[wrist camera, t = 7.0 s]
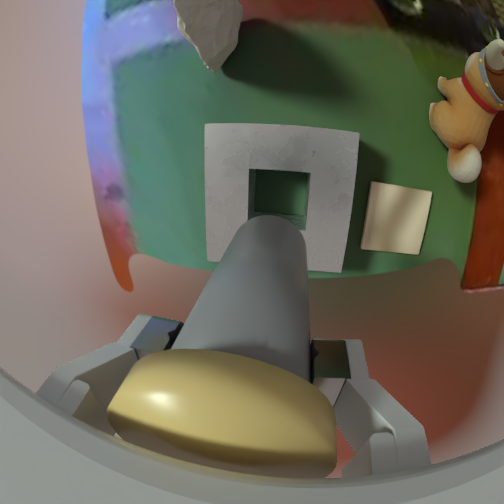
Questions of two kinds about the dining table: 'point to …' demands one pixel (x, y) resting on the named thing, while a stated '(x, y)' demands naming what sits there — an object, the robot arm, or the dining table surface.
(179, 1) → the stone tool
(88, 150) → the dining table surface
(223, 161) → the housing
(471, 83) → the toy
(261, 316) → the plug
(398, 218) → the coaster
